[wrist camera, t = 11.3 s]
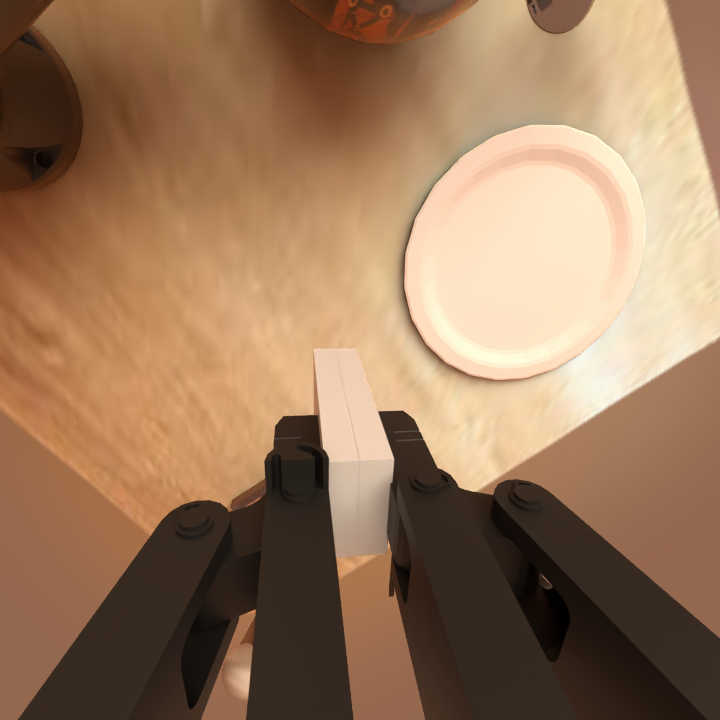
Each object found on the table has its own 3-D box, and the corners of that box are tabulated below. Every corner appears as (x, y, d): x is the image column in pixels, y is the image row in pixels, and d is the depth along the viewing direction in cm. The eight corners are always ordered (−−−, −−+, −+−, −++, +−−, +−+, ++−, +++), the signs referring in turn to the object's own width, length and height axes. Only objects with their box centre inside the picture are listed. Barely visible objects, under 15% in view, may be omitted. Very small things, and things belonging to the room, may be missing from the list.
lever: (344, 475, 52) (229, 694, 37) (363, 498, 53) (262, 716, 38) (318, 476, 54) (203, 679, 40) (338, 497, 56) (234, 700, 41)
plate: (574, 59, 44) (584, 55, 42) (671, 280, 55) (681, 283, 53) (349, 245, 48) (351, 248, 46) (482, 415, 59) (486, 422, 58)
